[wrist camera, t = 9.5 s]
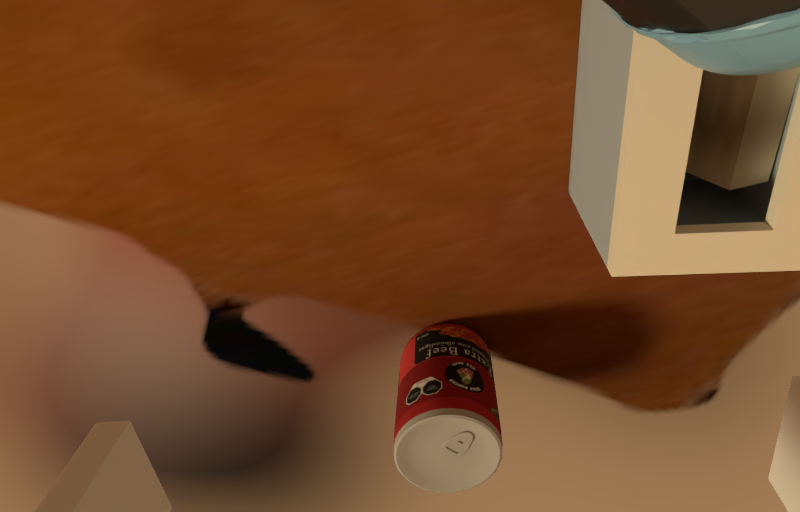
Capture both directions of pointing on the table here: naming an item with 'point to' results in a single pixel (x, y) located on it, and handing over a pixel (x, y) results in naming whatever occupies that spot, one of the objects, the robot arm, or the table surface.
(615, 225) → the box
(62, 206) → the table surface
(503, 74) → the table surface
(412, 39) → the table surface
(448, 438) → the canned food
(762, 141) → the block
